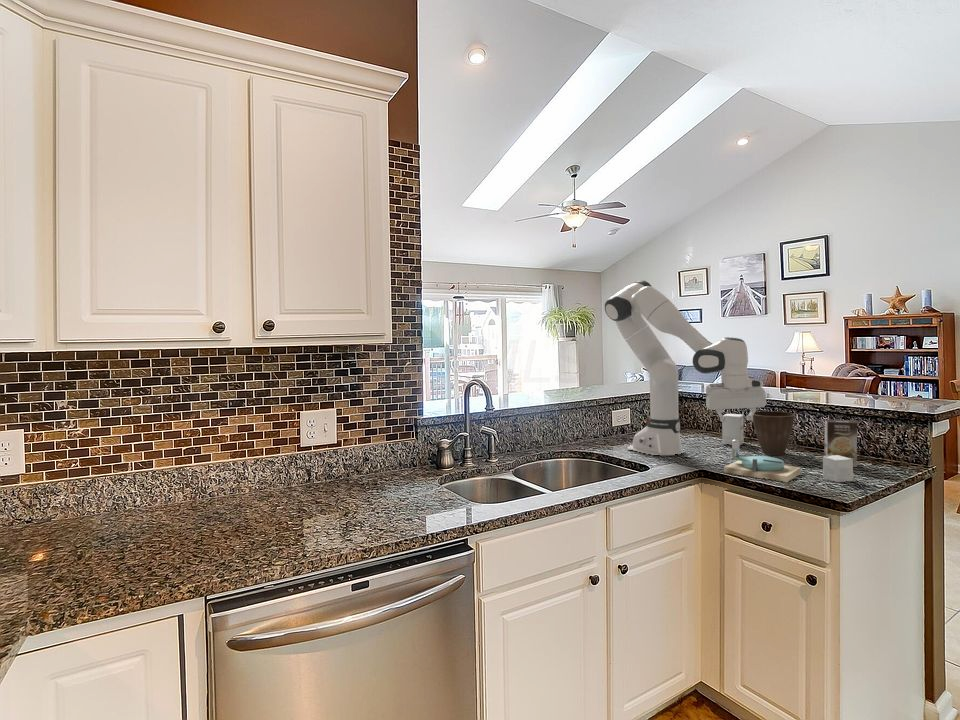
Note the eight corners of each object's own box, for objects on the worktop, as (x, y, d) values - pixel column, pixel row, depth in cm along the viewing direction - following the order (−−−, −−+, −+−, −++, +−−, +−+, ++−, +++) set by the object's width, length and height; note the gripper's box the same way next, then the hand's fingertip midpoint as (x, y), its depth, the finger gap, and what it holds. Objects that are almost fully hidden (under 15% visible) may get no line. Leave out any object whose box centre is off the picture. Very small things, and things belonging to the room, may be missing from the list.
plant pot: (744, 452, 218) (743, 413, 217) (766, 447, 225) (766, 409, 224) (780, 459, 205) (780, 417, 204) (802, 454, 212) (802, 413, 212)
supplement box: (740, 446, 230) (740, 416, 229) (721, 444, 234) (721, 415, 234) (744, 442, 236) (743, 414, 235) (726, 441, 240) (725, 413, 240)
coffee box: (826, 466, 193) (826, 421, 193) (823, 462, 199) (823, 418, 198) (857, 468, 190) (857, 422, 189) (853, 463, 195) (853, 419, 194)
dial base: (724, 472, 190) (724, 455, 190) (740, 464, 200) (740, 448, 200) (786, 482, 176) (786, 464, 175) (800, 473, 185) (800, 456, 185)
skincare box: (853, 481, 174) (853, 458, 174) (837, 482, 174) (836, 460, 173) (838, 476, 180) (838, 454, 180) (822, 477, 180) (822, 455, 179)
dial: (725, 465, 191) (724, 442, 190) (739, 458, 200) (739, 436, 199) (776, 472, 179) (776, 449, 178) (789, 465, 188) (789, 442, 187)
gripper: (709, 384, 190) (710, 423, 191) (768, 381, 189) (769, 420, 190) (702, 383, 196) (703, 420, 197) (759, 380, 196) (760, 418, 196)
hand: (736, 420), depth 194 cm, fingers open, 8 cm apart
